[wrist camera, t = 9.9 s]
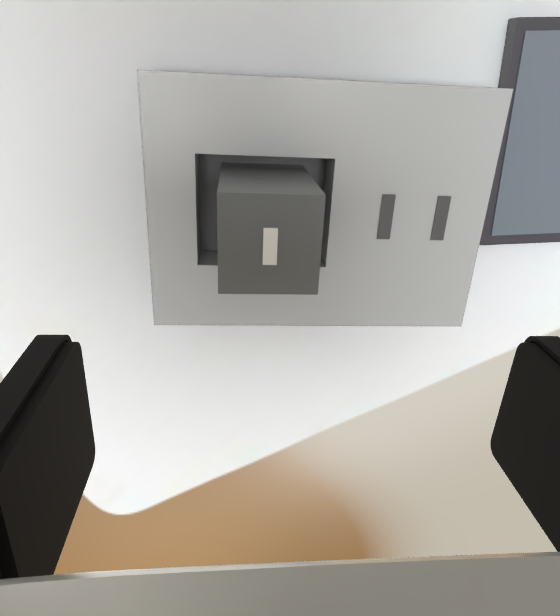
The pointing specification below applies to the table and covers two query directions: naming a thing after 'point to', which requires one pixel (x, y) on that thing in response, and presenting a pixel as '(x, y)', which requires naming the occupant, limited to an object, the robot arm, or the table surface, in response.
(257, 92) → the outlet plate
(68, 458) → the robot arm
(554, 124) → the phone
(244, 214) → the block
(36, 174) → the table surface
